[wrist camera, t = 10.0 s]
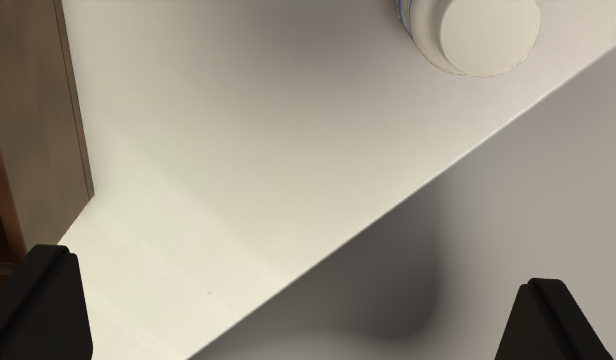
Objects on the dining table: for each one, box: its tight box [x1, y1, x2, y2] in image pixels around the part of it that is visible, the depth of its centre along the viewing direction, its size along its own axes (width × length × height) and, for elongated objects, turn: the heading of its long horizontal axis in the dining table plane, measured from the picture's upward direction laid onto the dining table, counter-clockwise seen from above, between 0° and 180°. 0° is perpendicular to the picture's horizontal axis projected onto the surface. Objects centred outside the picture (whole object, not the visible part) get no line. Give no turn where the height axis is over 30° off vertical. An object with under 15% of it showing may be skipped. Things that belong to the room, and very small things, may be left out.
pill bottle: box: [395, 0, 541, 77], centre depth 25 cm, size 6×5×10 cm
